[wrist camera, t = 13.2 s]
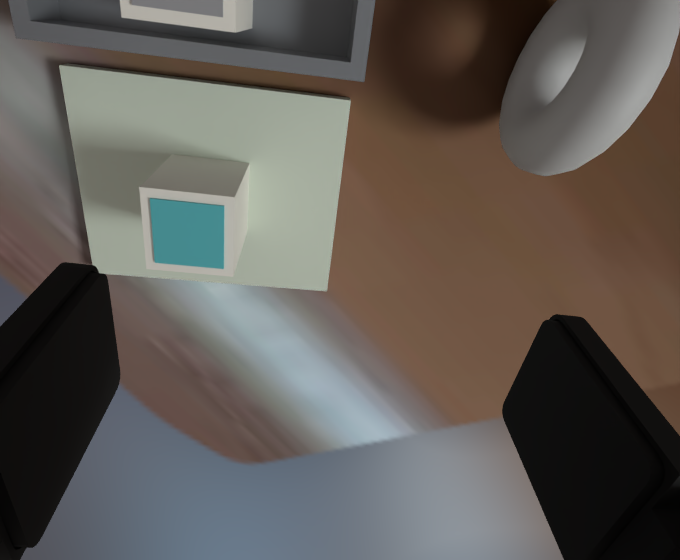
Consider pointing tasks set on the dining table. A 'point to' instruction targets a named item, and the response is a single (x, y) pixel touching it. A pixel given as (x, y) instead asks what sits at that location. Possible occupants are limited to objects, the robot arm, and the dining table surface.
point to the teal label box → (195, 215)
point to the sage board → (215, 143)
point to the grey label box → (193, 13)
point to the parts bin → (217, 34)
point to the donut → (584, 80)
